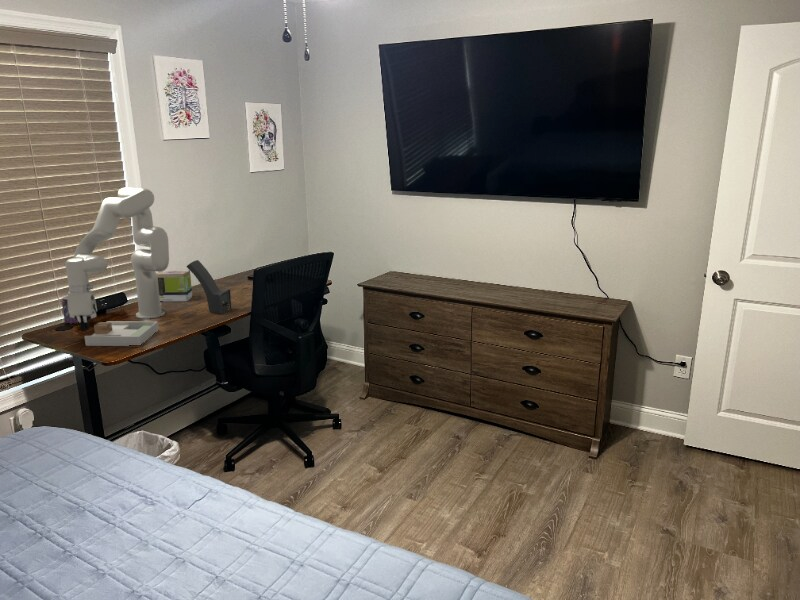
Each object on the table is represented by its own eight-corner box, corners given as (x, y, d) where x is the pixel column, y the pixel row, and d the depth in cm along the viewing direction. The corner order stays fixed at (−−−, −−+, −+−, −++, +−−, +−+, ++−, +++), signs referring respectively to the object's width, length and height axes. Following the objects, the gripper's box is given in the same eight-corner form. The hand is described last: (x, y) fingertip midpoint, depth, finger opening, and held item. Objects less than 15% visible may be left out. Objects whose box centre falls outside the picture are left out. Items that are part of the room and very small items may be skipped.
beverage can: (62, 322, 273) (58, 297, 270) (78, 319, 278) (75, 294, 275) (68, 326, 269) (64, 300, 265) (85, 322, 274) (81, 297, 271)
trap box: (108, 329, 264) (107, 321, 263) (158, 330, 264) (157, 321, 263) (85, 345, 245) (84, 336, 244) (140, 346, 245) (139, 336, 244)
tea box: (192, 296, 317) (190, 269, 313) (187, 302, 308) (184, 273, 304) (164, 296, 317) (161, 269, 313) (157, 302, 307) (154, 273, 303)
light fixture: (199, 306, 300) (195, 258, 293) (232, 308, 297) (228, 260, 291) (188, 312, 290) (184, 263, 283) (222, 314, 287) (218, 265, 280)
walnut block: (100, 330, 256) (99, 322, 255) (112, 330, 256) (111, 322, 255) (94, 333, 251) (93, 325, 250) (107, 333, 251) (106, 325, 251)
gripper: (101, 286, 252) (107, 327, 257) (65, 286, 252) (71, 327, 257) (93, 290, 245) (98, 333, 250) (56, 290, 245) (62, 333, 250)
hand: (85, 330), depth 254 cm, fingers closed
